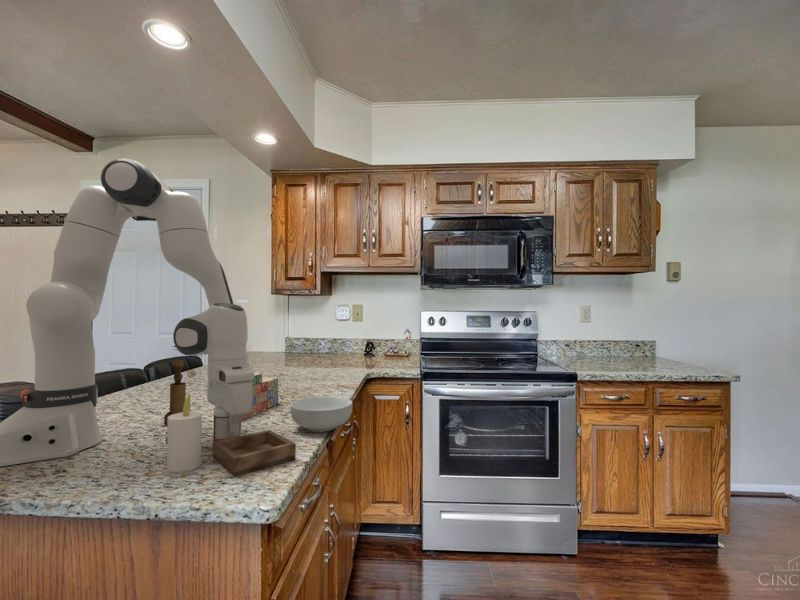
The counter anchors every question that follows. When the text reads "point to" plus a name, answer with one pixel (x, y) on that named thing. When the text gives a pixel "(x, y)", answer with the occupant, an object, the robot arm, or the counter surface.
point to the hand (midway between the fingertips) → (227, 427)
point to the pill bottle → (223, 424)
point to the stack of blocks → (263, 393)
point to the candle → (184, 439)
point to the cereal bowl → (321, 412)
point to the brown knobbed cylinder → (176, 391)
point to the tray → (253, 452)
